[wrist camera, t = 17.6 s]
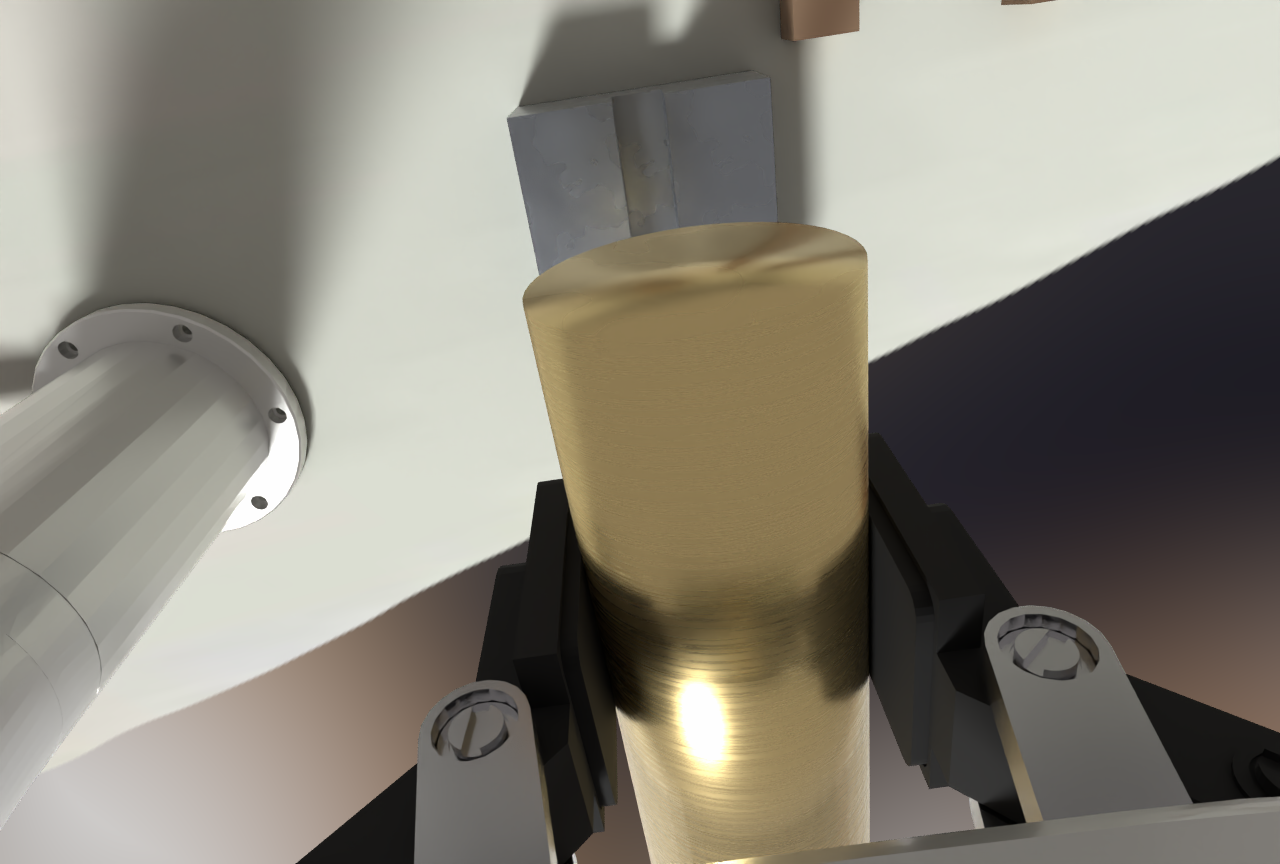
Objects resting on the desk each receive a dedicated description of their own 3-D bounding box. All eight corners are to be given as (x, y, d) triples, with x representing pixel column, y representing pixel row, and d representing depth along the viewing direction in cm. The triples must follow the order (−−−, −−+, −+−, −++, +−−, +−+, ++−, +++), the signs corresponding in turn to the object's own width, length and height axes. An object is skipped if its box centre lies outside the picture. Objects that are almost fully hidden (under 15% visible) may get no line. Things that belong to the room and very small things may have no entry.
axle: (814, 760, 17) (912, 947, 13) (637, 815, 16) (691, 1025, 13) (783, 206, 11) (941, 279, 8) (509, 262, 10) (543, 369, 7)
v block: (562, 327, 37) (557, 359, 34) (518, 107, 32) (506, 118, 29) (766, 297, 37) (783, 327, 33) (752, 70, 32) (770, 77, 29)
